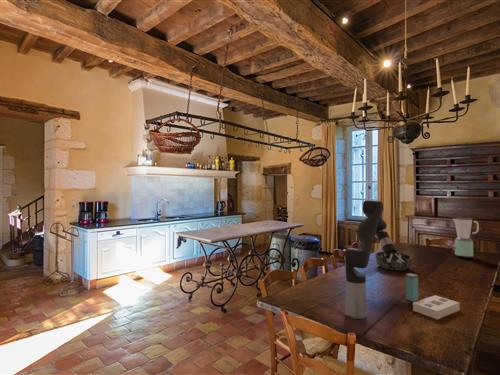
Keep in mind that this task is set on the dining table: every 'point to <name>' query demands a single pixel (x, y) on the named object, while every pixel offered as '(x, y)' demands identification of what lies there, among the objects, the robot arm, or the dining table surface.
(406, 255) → the bundt pan
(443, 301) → the block
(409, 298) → the plug
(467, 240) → the blender
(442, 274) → the dining table surface
